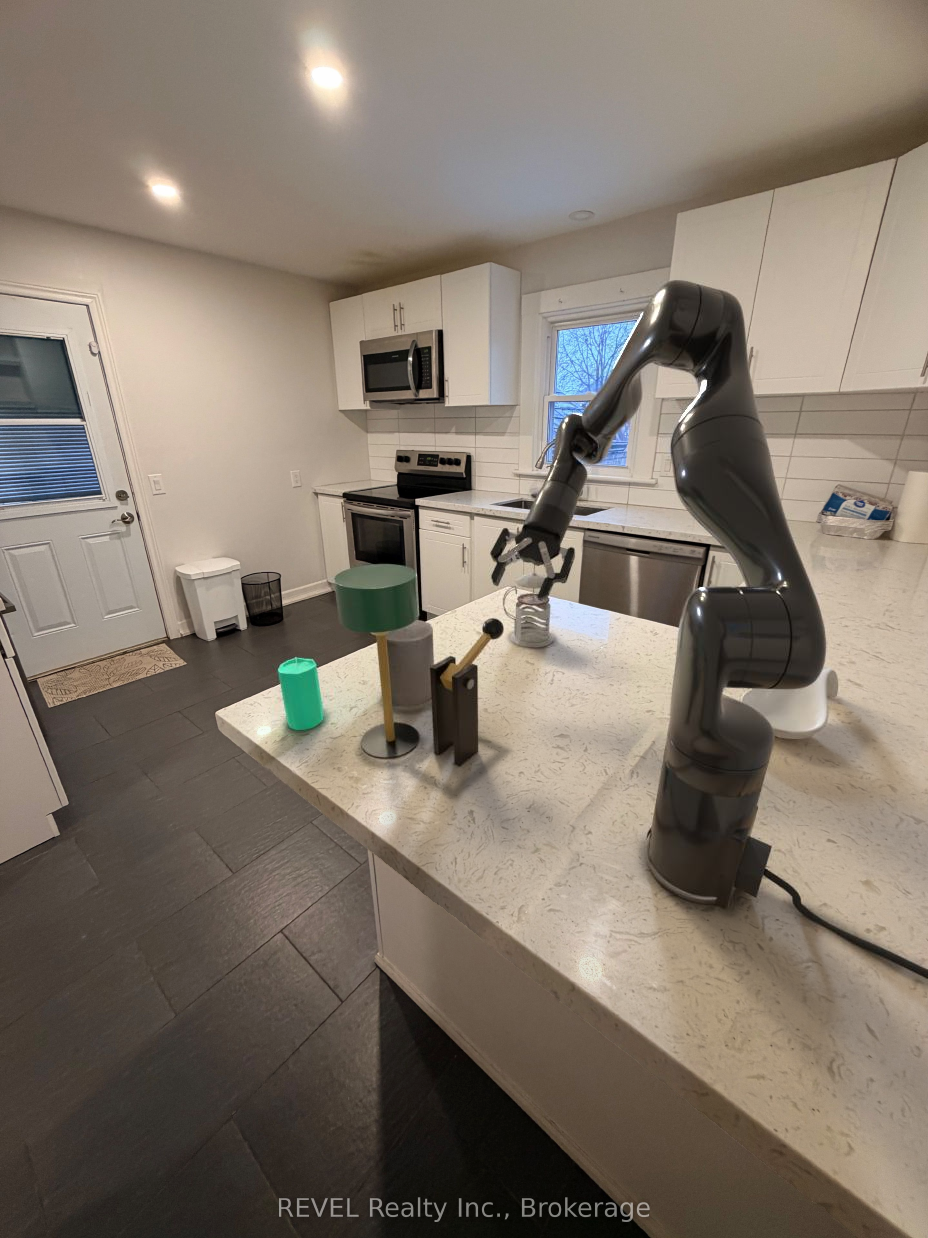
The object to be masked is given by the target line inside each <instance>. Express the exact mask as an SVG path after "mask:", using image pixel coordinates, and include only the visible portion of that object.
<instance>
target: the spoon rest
mask: <svg viewBox="0 0 928 1238" xmlns="http://www.w3.org/2000/svg"><path fill="white" fill-rule="evenodd" d="M838 693H839V678H838V674H837V672H836V671H835V670H834V669H830V668H824V667H823V670H822V672H821V674H820V675H819V677H818V679H817V680H816V681H815V682H814V683H813V684H811V685H810V686H808V687H805V688H801V689H749V690H747V691H746V692H744V693H743V694H742V696H741V697H740V700H739V701H741V702H743V703H745V704H747V705H749V706H751V707H752V708H754V709H755V710H757V711H758V712H760V713H761V714H762V715H763V716H764V717H765V718H766V719H767V720H768V721H769V723H770V724H771V725H772V727H773V730H774V735H775V737H778V738H782V739H786V740H800V739H805V738H806V739H807V738H809V737H812V736H813V735H816V734H818V733H819V732H821V730H823V729H824V728H825V727H826V725H827V723H828V722H829V721H828V720H829V715H830V709H829V698H828V697H832V698H833V697H834V698H836V697H837V696H838Z"/></svg>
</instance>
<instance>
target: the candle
mask: <svg viewBox="0 0 928 1238" xmlns="http://www.w3.org/2000/svg"><path fill="white" fill-rule="evenodd" d="M277 674H278V679H279V685H280V690H281V696H282V701H283V707H284V711H285V717H286V723H287V724H288V727H289V728H290V729H293V730H295V731H305V730H306V731H307V730H310V729H313V728H315V727H316V728H317V726H319V725H320V724H321V723H322V722H323V720H324V718H325V714H324V707H323V699H322V693H321V686H320V679H319V673H318V665H317V663H316V662H315V659H313V658H304V657H297V656H295V657H294V658H290V659H288V660H286V661H284V662H283V663H280V665H279V666H278V668H277Z"/></svg>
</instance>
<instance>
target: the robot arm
mask: <svg viewBox="0 0 928 1238" xmlns="http://www.w3.org/2000/svg"><path fill="white" fill-rule="evenodd" d="M747 345H748V344H747V335H746V323H745V316H744V311H743V308H742V305H741V303H740V300H739V299H738V298H737V297H736V296H735V295H734V294H732V293H730V292H728V291H725V290H722V289H719V288H714V287H710V286H707V285H703V284H699V283H696V282H692V281H688V280H682V279H673V280H669V281H667V282H665V283H664V284H663V285H661V287H660V288H659V289H658V290H657V291H656V292H655V293H654V295H653V296H652V297H651V298H650V300H649V301H648V303H647V305H646V306H645V308H644V310H643V311H642V313H641V314H640V317H639V319H638V320H637V322H636V323H635V326H634V327H633V329H632V331H631V333H630V334H629V337H628V338H627V340H626V342H625V344H624V346H623V348H622V350H621V351H620V354H619V356H618V357H617V360H616V361H615V364H614V365H613V368H612V369H611V372H610V374H609V375H608V377H607V378H606V380H605V382H604V383H603V385H602V386H601V387H600V389H598V391H597V392H596V394H595V395H594V396H593V397H592V399H591V400H589V402H588V404H587V405H586V406H585V407H584V409H583V412H582V414H580V413H577V412H573V413H570V414H568V415H566V416H564V418H562V419H561V421H560V423H559V425H558V426H557V429H556V432H555V439H554V448H553V455H552V459H551V464H550V465H551V466H550V467H549V470H548V472H547V474H546V477H545V479H544V482H543V483H542V485H541V487H540V489H539V490H538V492H537V493H536V495H535V498H534V501H533V502H532V505H531V507H530V509H529V512H528V514H527V516H526V518H525V520H524V523H523V524H522V528H521V529H520V531H518V533H514V532H512V531H509V530H510V529H508V527H504V528H503V529H502V530H501V532H500V534H499V535H498V537H497V539H496V541H495V543H494V545H493V547H492V548H491V550H490V552H489V554H490V557H491V560H492V561H493V562H494V563H496V565H495V567H494V569H493V571H492V572H491V577H490V579H491V581H492V584H493V586H496V587H498V586H499V585H500V583H501V580H502V579H503V576H504V574H505V572H506V570H507V569H506V567H508V566H510V565H512V564H515V563H517V562H519V561H522V562H524V563H528V564H532V565H533V566H534V565H535V567H536V566H537V567H540V566H543V567H544V571H545V573H546V576H547V578H546V577H545V579H544V582H543V584H542V586H541V588H539V592H538V600H539V601H543V599H547V598H549V596H550V594H551V591H552V589H553V587H554V585H555V584H556V583H561V584H566V583H567V581H568V579H569V575H570V573H571V570H572V567H573V564H574V561H575V558H576V550H575V548H574V547H572V546H571V547H568V548H566V547H562V546H561V545H562V542H563V540H564V538H565V536H566V533H567V530H568V529H569V526H570V523H571V522H572V521H573V518H574V514H575V512H576V509H577V505H578V501H579V499H580V498H581V497H580V496H581V495H582V492H583V490H584V487H585V484H586V482H587V480H588V474H589V473H588V470H587V468H586V467H585V466H584V464H587V465H590V466H594V465H598V464H601V462H603V461H604V460H605V459H606V458H607V456H608V454H609V452H610V449H611V448H612V445H613V441H614V439H615V437H616V435H617V434H618V433H619V432H620V431H621V430H622V429H623V428H624V427H625V426H626V425H627V424H628V423H629V422H630V421H631V420H632V419H633V417H634V416H635V415H636V414H637V411H638V410H639V408H640V406H641V404H642V399H643V380H642V370H643V369H644V368H646V367H647V366H648V365H650V364H654V365H656V366H659V367H662V368H666V369H670V370H671V369H672V370H675V371H679V372H684V373H687V374H689V375H691V376H692V377H693V378H694V379H695V381H696V384H697V389H698V395H697V396H696V397H695V399H694V400H693V401H692V403H690V405H689V406H688V407H687V409H686V410H685V412H684V413H683V414H682V416H681V417H680V419H679V420H678V422H677V424H676V426H675V427H674V429H673V432H672V435H671V438H670V447H669V451H670V460H671V466H672V474H673V475H672V476H673V479H674V480H673V481H674V487H675V491H676V494H677V497H678V499H679V501H680V502H681V503H682V505H683V507H684V508H685V509H686V511H688V513H689V514H690V516H692V518H693V519H694V520H696V522H697V523H698V524H699V525H700V526H702V528H703V529H704V530H705V531H706V532H708V533H709V535H711V536H712V537H713V538H714V539H715V540H716V541H717V542H718V543H719V544H720V545H721V546H722V547H723V548H724V549H725V550H726V551H727V553H728V554H729V555H730V556H731V558H732V559H733V561H734V563H735V564H736V565H737V567H738V569H739V572H740V574H741V576H742V578H743V581H744V584H745V586H734V585H733V586H732V585H731V586H730V585H728V586H726V585H710V586H709V585H708V586H700V587H698V588H695V589H694V590H692V592H690V594H689V595H688V597H687V598H686V600H685V601H684V604H683V607H682V610H681V614H680V619H679V624H678V632H677V640H676V641H677V642H676V651H675V652H676V653H675V664H674V674H673V680H672V686H671V695H670V710H669V721H668V728H667V732H666V733H667V734H666V739H665V745H664V751H663V757H662V761H661V768H660V774H659V780H658V786H657V791H656V797H655V798H656V799H655V803H654V804H655V805H654V810H653V815H652V822H651V826H650V828H649V829H648V831H647V833H646V839H645V840H648V842H647V844H646V845H647V846H646V851H645V852H646V853H645V856H646V857H645V859H646V863H647V866H648V868H649V871H650V872H651V874H652V876H653V877H654V878H655V879H656V881H658V883H659V884H660V885H662V886H663V887H664V888H665V889H666V890H667V891H669V892H671V893H672V894H673V895H675V896H677V897H680V898H681V899H684V900H687V901H689V902H693V903H697V904H705V905H711V904H712V905H713V904H715V905H718V906H720V907H721V908H723V909H728V908H729V906H730V903H731V901H732V898H733V895H734V894H735V891H736V890H738V891H741V892H743V893H744V894H747V895H749V896H750V897H752V898H754V899H757V897H758V894H759V890H760V887H761V883H762V881H763V877H765V878H767V879H768V880H769V881H770V882H772V883H774V884H775V885H777V886H778V887H780V888H781V889H782V890H784V891H785V892H786V893H787V894H788V895H789V896H790V897H791V902H792V904H793V906H794V908H795V909H796V910H797V911H798V912H799V913H800V914H802V915H803V916H804V917H806V918H807V919H808V920H810V921H812V922H814V923H816V924H818V925H820V926H822V927H823V928H825V929H827V930H829V931H831V932H832V933H834V934H836V935H837V936H839V937H840V938H842V939H844V940H846V941H848V942H849V943H851V944H854V945H855V946H857V947H860V948H861V949H864V950H866V951H868V952H870V953H872V954H874V955H877V956H879V957H882V958H883V959H886V960H888V961H890V962H892V963H894V964H896V965H898V966H900V967H902V968H904V969H906V970H908V971H910V972H912V973H914V974H916V975H918V976H920V977H923V978H924V979H927V980H928V969H927V968H925V967H923V966H921V965H919V964H917V963H915V962H913V961H910V960H909V959H907V958H905V957H903V956H901V955H899V954H896V953H894V952H893V951H890V950H888V949H886V948H884V947H882V946H880V945H877V944H875V943H872V942H870V941H867V940H865V939H863V938H861V937H859V936H856V935H854V934H851V933H849V932H848V931H846V930H843V929H841V928H840V927H838V926H835V925H834V924H831V923H830V922H828V921H826V920H824V919H823V918H821V917H820V916H819V915H817V914H816V913H814V912H813V911H811V910H810V909H809V908H808V907H807V906H805V905H804V904H803V903H802V898H801V896H800V894H799V892H798V891H797V889H796V888H795V887H793V886H792V885H791V884H790V883H789V882H787V881H785V880H784V879H783V878H781V877H780V876H778V875H777V874H775V873H774V872H772V871H771V870H769V869H768V868H767V864H768V862H769V857H770V855H771V851H772V847H773V846H772V845H771V844H768V843H766V842H764V841H761V840H759V839H757V838H755V837H753V836H752V832H753V828H754V824H755V820H756V818H757V815H758V810H759V806H758V804H759V800H760V797H761V792H762V788H763V785H764V781H765V778H766V774H767V771H768V767H769V763H770V760H771V756H772V752H773V749H774V745H775V740H776V739H775V738H776V736H775V735H774V730H773V727H772V725H771V724H770V723H769V721H768V720H767V719H766V718H765V717H764V716H763V715H762V714H761V713H760V712H758V711H757V710H755V709H754V708H752V707H751V706H749V705H747V704H745V703H743V702H741V701H740V700H739V699H736V698H734V697H731V696H728V695H725V694H723V693H724V691H725V689H749V690H750V689H801V688H805V687H808V686H810V685H811V684H813V683H814V682H815V681H816V680H817V679H818V677H819V675H820V674H821V672H822V670H823V668H824V667H825V663H826V657H827V656H826V655H827V636H826V635H827V634H826V628H825V623H824V619H823V615H822V611H821V608H820V604H819V601H818V598H817V596H816V593H815V591H814V588H813V585H812V583H811V580H810V577H809V575H808V573H807V570H806V567H805V565H804V563H803V560H802V557H801V555H800V553H799V550H798V548H797V546H796V543H795V540H794V539H793V535H792V533H791V530H790V527H789V524H788V521H787V518H786V514H785V511H784V507H783V504H782V500H781V498H780V493H779V489H778V484H777V481H776V476H775V471H774V468H773V462H772V457H771V451H770V447H769V444H768V441H767V437H766V432H765V427H764V426H763V422H762V419H761V417H760V413H759V409H758V406H757V405H758V404H757V402H756V396H755V391H754V387H753V382H752V381H753V380H752V376H751V372H750V365H749V357H748V347H747ZM582 463H584V464H582ZM512 542H515V545H514V546H512V547H511V548H509V549H508V550H507V551H506V552H505V553H504V551H505V549H506V548H507V545H510V544H512ZM559 555H561V560H562V561H563V562H562V564H561V568H560V571H559V572H555V570H554V566H553V564H552V560H553V559H555V558H556V557H558V556H559Z"/></svg>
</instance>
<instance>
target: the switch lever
mask: <svg viewBox="0 0 928 1238" xmlns="http://www.w3.org/2000/svg"><path fill="white" fill-rule="evenodd" d="M481 629H482V634H481V635H480V636H479V638H478V639H477V640H476V642H475V643H474V644H473V645H472V647H471V648H470V649H469V650H468V652H467V653H466V654H465V655H464V656H463V658H462V659H461V660H460V661H459V662H458V664H457V663H456V664H453V663H451V664H450V665H449V667H448V668H447V669H446V670H445V671H444V673H443V674H442V675H441V676H440V678H441V680H442V682H443V684H444V686H445V688H447V689H449V690H452V675H454V674H456V673H457V672H459V671H461V670H462V669H464V668H466V667H467V666H469V665H471V664H474V661H475V660H476V659H477V658H478V657H479V655H480V654H481V653H482V652H483V650H484V649H485V648H486V646H487V645H488V644H489V643H490V641H491V640H493V641H494V640H495V641H496V640H498V639H500V638H501V637H502V636H503V634H504V632H505V631H504V630H505V627H504V624H503V622H502V621H501V620H499V618H495V617H491V618H488V619H487V620H485V621H484V622H483V624H482V628H481Z"/></svg>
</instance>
